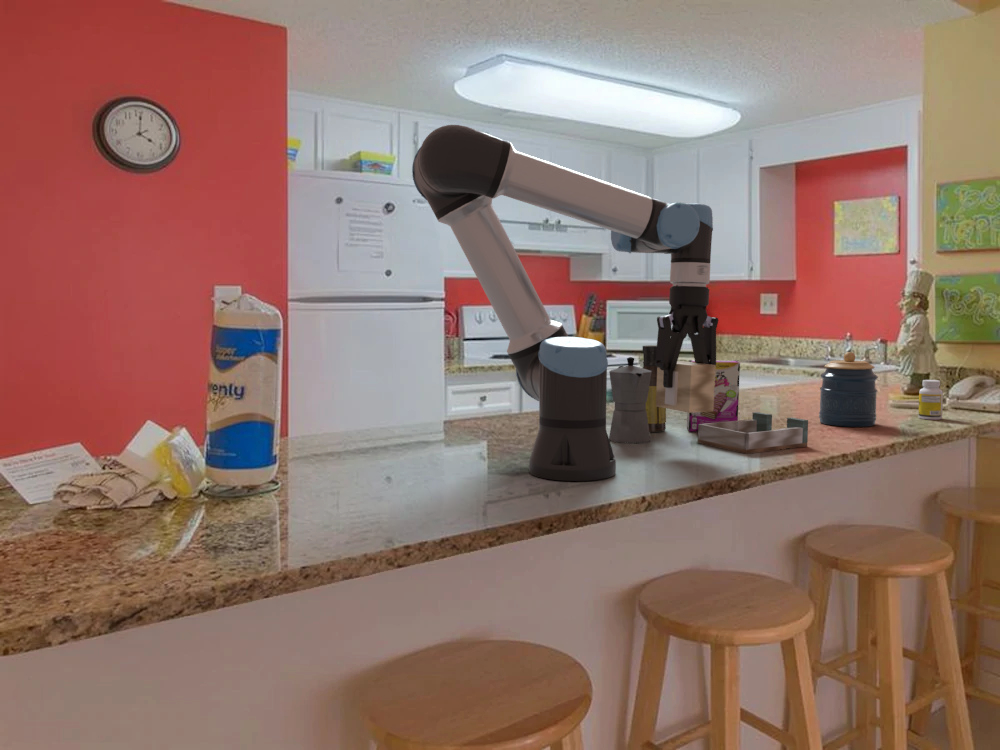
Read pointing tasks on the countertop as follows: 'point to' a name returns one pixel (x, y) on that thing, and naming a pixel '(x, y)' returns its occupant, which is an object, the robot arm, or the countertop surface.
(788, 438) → the grey open tray
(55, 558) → the countertop surface
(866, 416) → the canister
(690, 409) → the tan rectangular block
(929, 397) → the supplement bottle
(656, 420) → the sauce bottle
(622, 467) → the countertop surface
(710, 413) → the candy bar box
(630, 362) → the coffeepot
